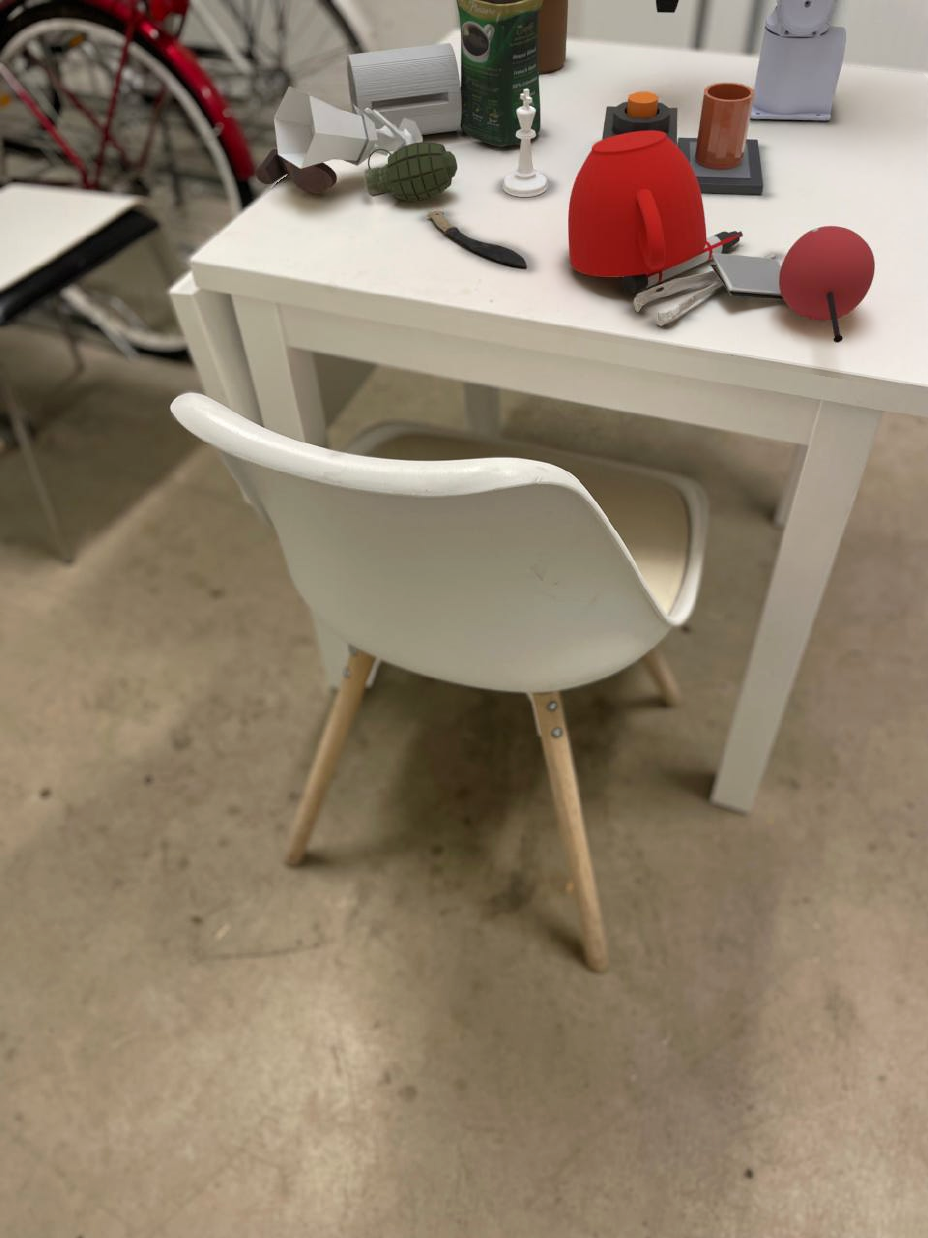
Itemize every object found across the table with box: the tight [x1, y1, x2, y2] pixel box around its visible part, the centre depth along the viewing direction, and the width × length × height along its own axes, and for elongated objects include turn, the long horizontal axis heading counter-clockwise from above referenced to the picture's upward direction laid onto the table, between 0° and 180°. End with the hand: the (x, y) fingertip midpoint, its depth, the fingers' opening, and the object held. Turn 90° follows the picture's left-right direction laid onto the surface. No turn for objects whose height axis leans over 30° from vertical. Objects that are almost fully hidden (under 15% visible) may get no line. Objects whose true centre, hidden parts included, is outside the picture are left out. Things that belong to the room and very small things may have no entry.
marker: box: [621, 230, 744, 295], centre depth 91 cm, size 15×2×2 cm
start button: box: [627, 91, 659, 118], centre depth 102 cm, size 3×3×2 cm
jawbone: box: [632, 252, 778, 327], centre depth 89 cm, size 17×5×2 cm, turn 127°
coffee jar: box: [455, 0, 543, 147], centre depth 108 cm, size 10×8×19 cm
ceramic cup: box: [567, 130, 707, 278], centre depth 87 cm, size 13×17×10 cm
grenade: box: [364, 141, 458, 202], centre depth 103 cm, size 6×7×10 cm
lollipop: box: [779, 225, 876, 344], centre depth 80 cm, size 8×8×15 cm
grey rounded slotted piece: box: [346, 42, 462, 136], centre depth 112 cm, size 9×9×12 cm
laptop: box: [710, 253, 784, 301], centre depth 87 cm, size 7×6×2 cm
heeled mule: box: [255, 148, 338, 195], centre depth 106 cm, size 4×11×4 cm
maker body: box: [601, 101, 678, 146], centre depth 105 cm, size 8×12×6 cm, turn 171°
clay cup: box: [694, 82, 754, 169], centre depth 103 cm, size 5×5×7 cm
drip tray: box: [677, 137, 764, 195], centre depth 106 cm, size 9×12×1 cm
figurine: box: [273, 85, 424, 169], centre depth 104 cm, size 7×8×18 cm
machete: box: [427, 210, 527, 269], centre depth 97 cm, size 15×3×1 cm, turn 40°
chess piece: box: [502, 89, 548, 198], centre depth 101 cm, size 5×5×10 cm
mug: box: [538, 0, 569, 74], centre depth 125 cm, size 12×8×9 cm, turn 125°
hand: (665, 10), depth 111 cm, fingers closed
